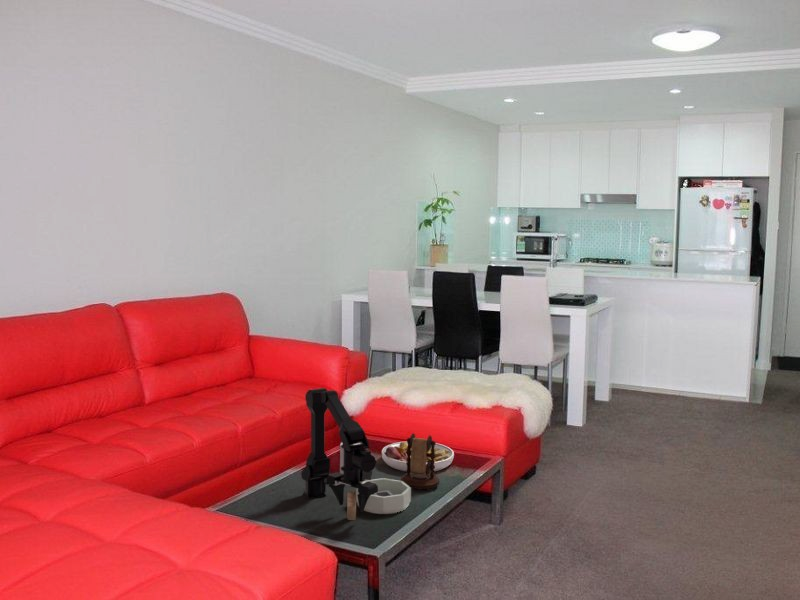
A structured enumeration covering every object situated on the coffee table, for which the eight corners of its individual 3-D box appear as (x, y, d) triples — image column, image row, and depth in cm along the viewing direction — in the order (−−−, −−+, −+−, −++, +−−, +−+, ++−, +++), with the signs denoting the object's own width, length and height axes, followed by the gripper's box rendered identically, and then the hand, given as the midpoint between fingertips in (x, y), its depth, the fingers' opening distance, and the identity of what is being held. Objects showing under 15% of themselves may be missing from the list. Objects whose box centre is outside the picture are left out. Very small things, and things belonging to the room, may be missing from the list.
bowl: (427, 448, 335) (428, 431, 334) (467, 468, 309) (468, 449, 308) (368, 458, 319) (369, 440, 318) (405, 480, 294) (406, 460, 293)
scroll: (395, 489, 283) (396, 437, 281) (408, 476, 297) (409, 427, 295) (432, 494, 278) (434, 442, 276) (444, 482, 292) (445, 431, 290)
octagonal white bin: (368, 517, 256) (369, 500, 255) (350, 498, 273) (350, 482, 272) (417, 509, 263) (418, 493, 263) (396, 491, 280) (396, 476, 279)
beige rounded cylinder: (348, 520, 253) (349, 494, 252) (345, 517, 255) (346, 491, 254) (357, 519, 254) (357, 493, 253) (354, 516, 257) (354, 490, 256)
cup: (351, 478, 293) (351, 448, 292) (335, 474, 298) (336, 444, 297) (364, 473, 300) (365, 443, 298) (349, 468, 305) (349, 439, 303)
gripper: (388, 463, 253) (387, 508, 255) (347, 452, 265) (346, 495, 266) (367, 472, 245) (366, 518, 246) (325, 459, 256) (325, 504, 258)
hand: (351, 508), depth 254 cm, fingers open, 9 cm apart
